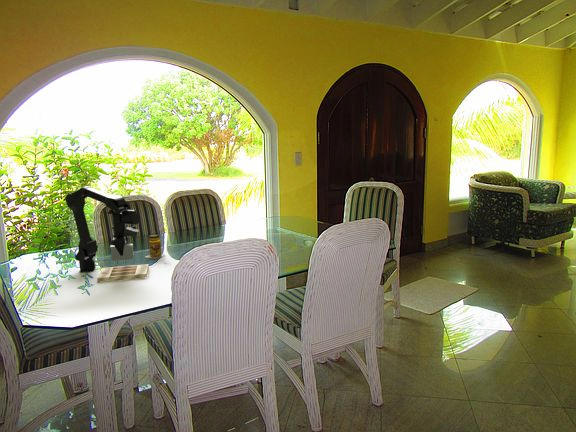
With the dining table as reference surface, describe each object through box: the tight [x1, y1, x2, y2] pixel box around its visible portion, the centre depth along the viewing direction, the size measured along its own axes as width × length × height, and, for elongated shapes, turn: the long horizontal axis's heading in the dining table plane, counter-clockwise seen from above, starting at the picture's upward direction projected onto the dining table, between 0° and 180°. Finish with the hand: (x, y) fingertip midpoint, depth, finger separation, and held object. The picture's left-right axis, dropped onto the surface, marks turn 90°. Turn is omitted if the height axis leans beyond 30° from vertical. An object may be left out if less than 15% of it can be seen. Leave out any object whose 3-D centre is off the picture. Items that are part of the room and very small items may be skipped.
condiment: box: [144, 233, 165, 260], centre depth 251 cm, size 7×8×12 cm
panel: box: [109, 243, 135, 262], centre depth 221 cm, size 10×2×7 cm, turn 103°
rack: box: [96, 263, 150, 283], centre depth 223 cm, size 22×15×2 cm
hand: (122, 254), depth 222 cm, fingers closed on panel, 2 cm apart
